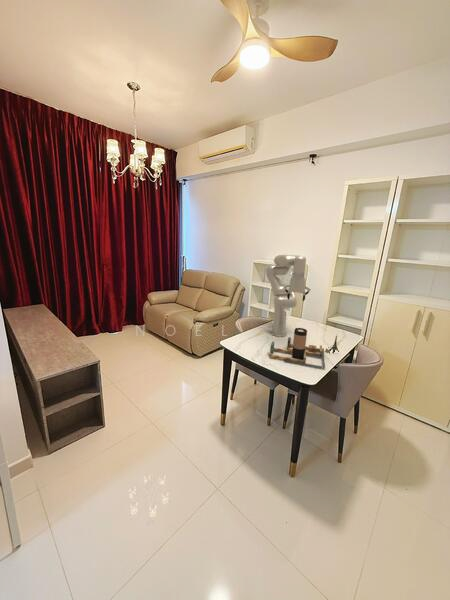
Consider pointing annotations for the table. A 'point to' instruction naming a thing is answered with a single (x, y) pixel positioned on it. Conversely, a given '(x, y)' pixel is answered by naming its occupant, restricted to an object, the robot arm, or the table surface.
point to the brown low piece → (285, 353)
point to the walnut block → (312, 348)
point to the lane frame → (310, 364)
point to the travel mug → (299, 343)
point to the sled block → (305, 348)
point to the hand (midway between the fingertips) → (295, 300)
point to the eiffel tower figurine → (333, 347)
